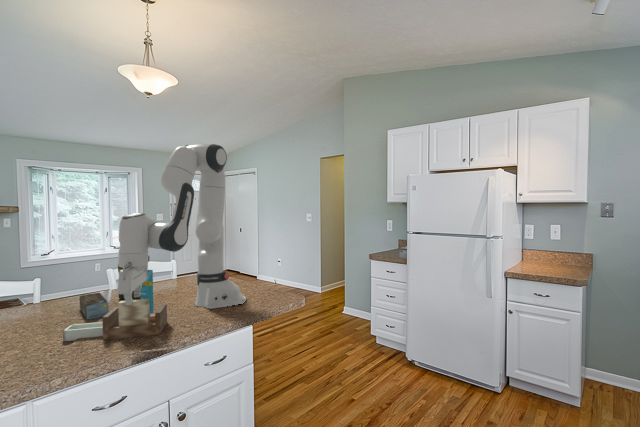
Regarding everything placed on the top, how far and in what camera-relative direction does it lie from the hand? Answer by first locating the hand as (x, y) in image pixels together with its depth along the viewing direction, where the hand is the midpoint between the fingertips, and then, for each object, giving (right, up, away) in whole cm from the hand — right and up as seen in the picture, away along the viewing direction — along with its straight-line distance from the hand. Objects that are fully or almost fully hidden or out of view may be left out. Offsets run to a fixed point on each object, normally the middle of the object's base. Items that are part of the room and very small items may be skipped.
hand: (133, 300), depth 113 cm
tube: (-6, -12, +20) cm, 24 cm away
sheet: (0, -12, +1) cm, 12 cm away
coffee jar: (-28, -11, +46) cm, 55 cm away
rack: (-1, -12, +3) cm, 13 cm away
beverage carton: (-31, -12, +26) cm, 42 cm away
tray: (-16, -12, 0) cm, 20 cm away
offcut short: (+2, -9, +6) cm, 11 cm away
